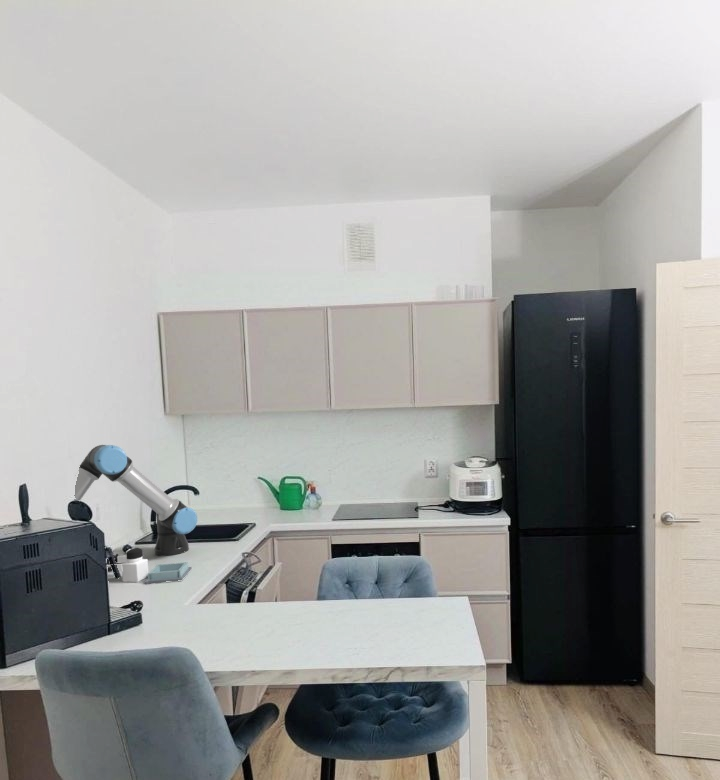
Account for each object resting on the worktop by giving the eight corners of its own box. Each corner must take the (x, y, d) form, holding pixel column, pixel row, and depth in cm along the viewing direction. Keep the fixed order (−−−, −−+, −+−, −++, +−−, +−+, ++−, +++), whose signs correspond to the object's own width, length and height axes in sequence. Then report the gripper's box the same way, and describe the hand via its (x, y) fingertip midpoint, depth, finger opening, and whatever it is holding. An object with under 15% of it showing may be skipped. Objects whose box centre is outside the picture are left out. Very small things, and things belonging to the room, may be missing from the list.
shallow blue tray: (157, 572, 242) (156, 563, 242) (191, 569, 243) (191, 560, 243) (144, 584, 226) (144, 575, 226) (181, 581, 227) (181, 572, 227)
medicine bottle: (149, 576, 237) (147, 546, 237) (137, 582, 230) (135, 551, 230) (133, 576, 239) (132, 546, 239) (122, 582, 232) (120, 551, 232)
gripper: (87, 567, 245) (139, 563, 246) (59, 586, 220) (117, 582, 221) (86, 549, 245) (138, 545, 246) (58, 566, 220) (115, 562, 221)
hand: (128, 562), depth 234 cm, fingers open, 13 cm apart
